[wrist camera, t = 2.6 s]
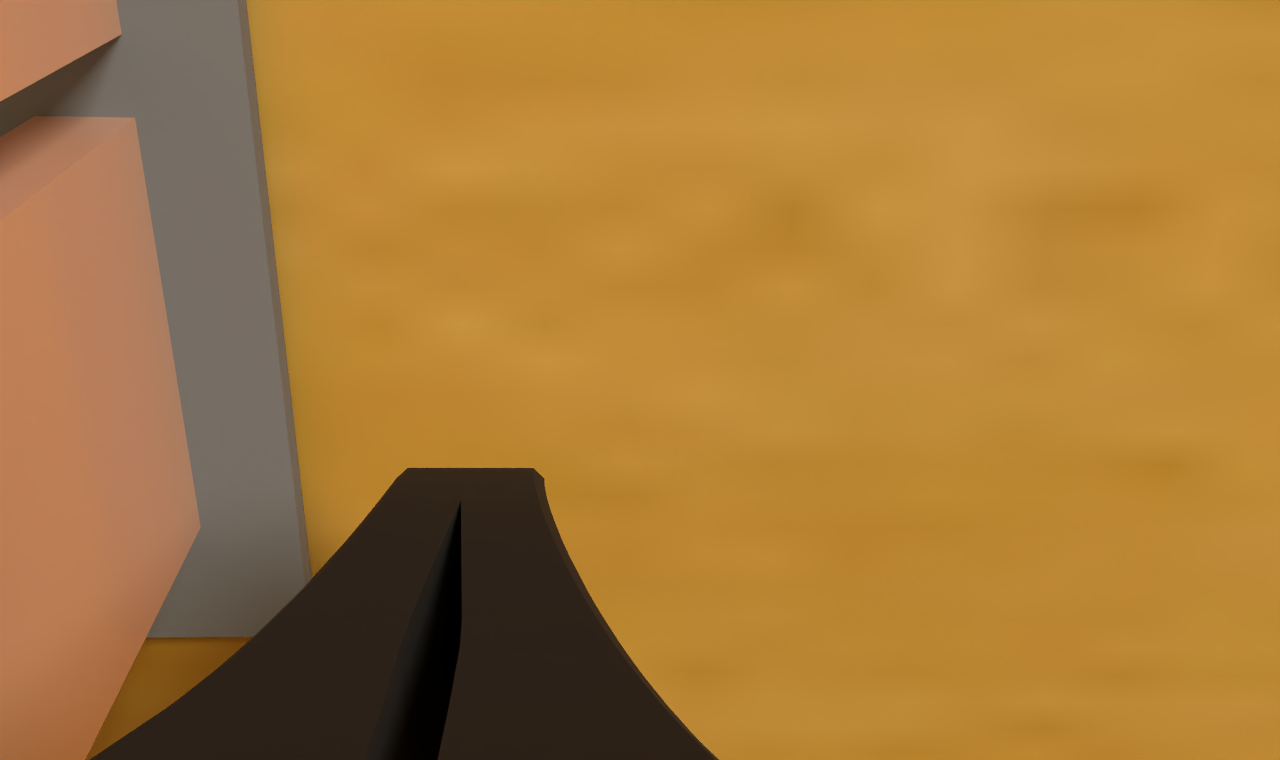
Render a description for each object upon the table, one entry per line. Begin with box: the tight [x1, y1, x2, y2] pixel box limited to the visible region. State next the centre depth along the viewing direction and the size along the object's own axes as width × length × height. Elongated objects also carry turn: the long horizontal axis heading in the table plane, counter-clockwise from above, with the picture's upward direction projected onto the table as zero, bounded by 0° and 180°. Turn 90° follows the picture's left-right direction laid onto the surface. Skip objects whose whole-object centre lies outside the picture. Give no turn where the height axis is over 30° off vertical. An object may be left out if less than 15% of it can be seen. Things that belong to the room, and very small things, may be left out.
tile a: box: [0, 116, 201, 760], centre depth 13 cm, size 6×1×7 cm, turn 178°
